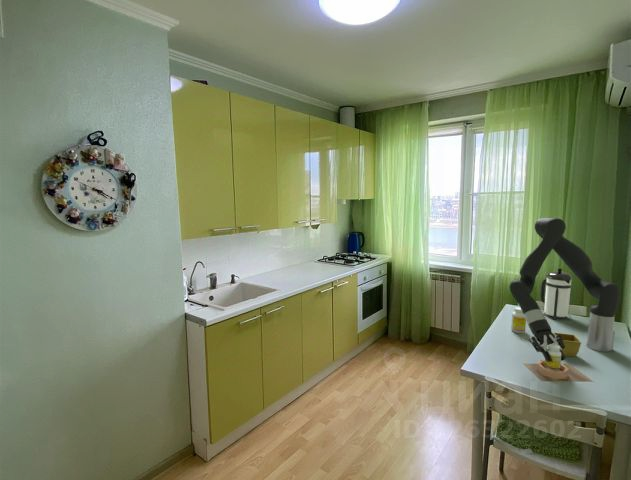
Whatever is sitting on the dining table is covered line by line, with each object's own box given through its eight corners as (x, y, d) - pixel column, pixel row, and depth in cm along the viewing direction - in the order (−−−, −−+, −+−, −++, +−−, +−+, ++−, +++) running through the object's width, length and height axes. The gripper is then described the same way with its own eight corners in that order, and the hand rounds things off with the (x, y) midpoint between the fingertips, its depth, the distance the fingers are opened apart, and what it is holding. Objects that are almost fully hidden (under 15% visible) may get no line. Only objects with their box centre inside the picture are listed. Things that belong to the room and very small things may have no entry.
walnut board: (569, 366, 153) (569, 363, 153) (592, 384, 139) (593, 381, 139) (522, 366, 154) (522, 363, 154) (541, 383, 140) (541, 380, 140)
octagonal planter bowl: (556, 366, 151) (557, 359, 150) (573, 379, 140) (574, 372, 140) (532, 366, 151) (532, 359, 151) (546, 379, 141) (547, 372, 140)
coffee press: (572, 315, 212) (577, 267, 208) (568, 323, 200) (573, 272, 196) (539, 309, 224) (543, 263, 219) (533, 315, 212) (537, 268, 208)
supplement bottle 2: (541, 365, 148) (543, 343, 147) (553, 364, 149) (555, 342, 147) (551, 371, 143) (553, 349, 141) (563, 370, 143) (565, 348, 142)
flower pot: (572, 352, 166) (574, 334, 164) (579, 361, 157) (581, 342, 156) (551, 349, 168) (552, 332, 167) (557, 358, 160) (558, 339, 159)
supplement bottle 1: (527, 333, 187) (528, 311, 185) (513, 333, 188) (515, 310, 186) (522, 328, 194) (524, 306, 192) (509, 328, 195) (510, 306, 193)
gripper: (527, 319, 149) (546, 359, 139) (557, 317, 151) (578, 356, 141) (517, 326, 155) (535, 364, 145) (546, 324, 157) (566, 362, 147)
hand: (556, 360), depth 143 cm, fingers closed on supplement bottle 2, 5 cm apart
